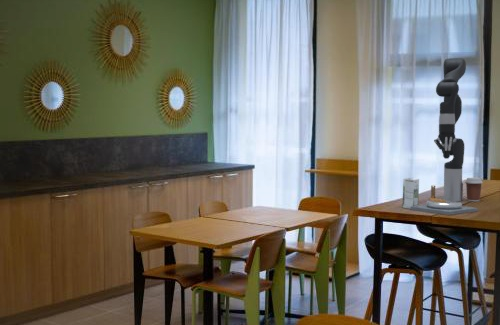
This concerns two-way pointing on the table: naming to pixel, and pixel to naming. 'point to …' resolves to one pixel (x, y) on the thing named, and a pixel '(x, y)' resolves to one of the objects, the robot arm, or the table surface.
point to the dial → (442, 202)
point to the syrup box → (410, 192)
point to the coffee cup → (473, 188)
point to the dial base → (444, 210)
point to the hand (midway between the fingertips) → (446, 158)
